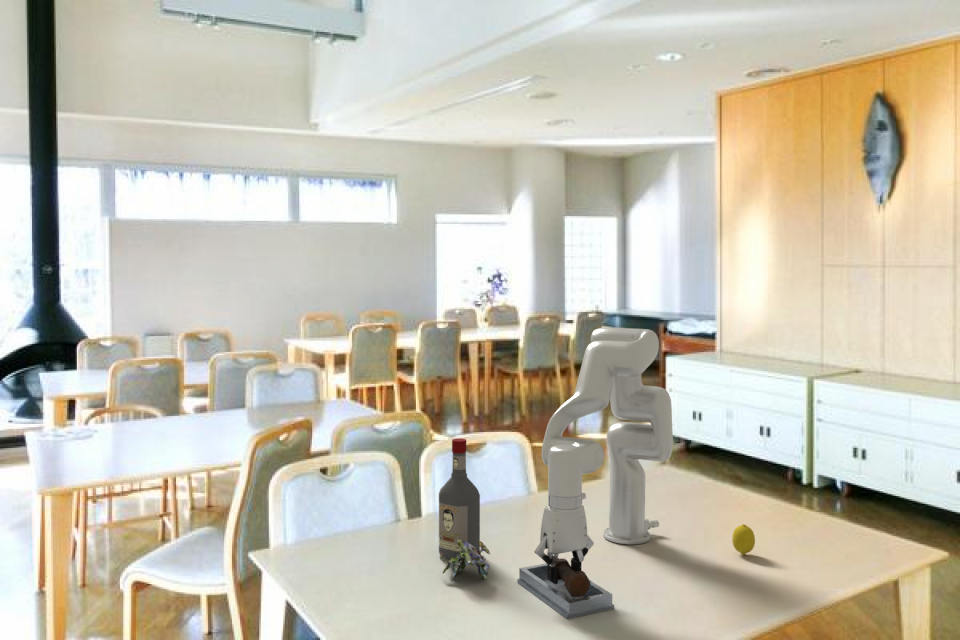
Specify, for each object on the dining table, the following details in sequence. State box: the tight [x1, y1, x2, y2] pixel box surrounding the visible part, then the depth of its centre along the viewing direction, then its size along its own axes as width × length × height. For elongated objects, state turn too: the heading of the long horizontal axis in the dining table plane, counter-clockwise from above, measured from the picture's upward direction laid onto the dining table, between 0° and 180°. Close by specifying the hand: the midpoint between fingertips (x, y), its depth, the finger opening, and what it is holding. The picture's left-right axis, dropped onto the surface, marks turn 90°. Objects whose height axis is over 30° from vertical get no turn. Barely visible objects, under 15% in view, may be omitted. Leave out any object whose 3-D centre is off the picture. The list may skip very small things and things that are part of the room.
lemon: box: [731, 523, 756, 556], centre depth 211 cm, size 6×6×8 cm
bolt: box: [556, 557, 591, 597], centre depth 185 cm, size 6×5×15 cm
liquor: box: [438, 437, 481, 561], centre depth 210 cm, size 9×9×30 cm
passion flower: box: [439, 540, 491, 582], centre depth 195 cm, size 11×11×12 cm
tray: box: [516, 563, 615, 620], centre depth 186 cm, size 12×22×3 cm, turn 26°
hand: (564, 578), depth 186 cm, fingers closed on bolt, 5 cm apart
